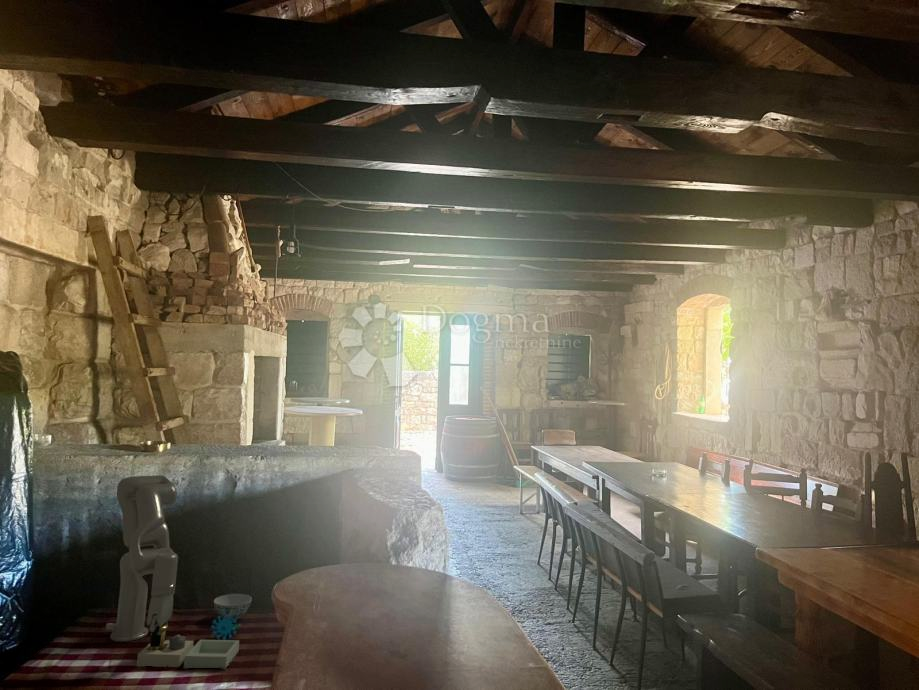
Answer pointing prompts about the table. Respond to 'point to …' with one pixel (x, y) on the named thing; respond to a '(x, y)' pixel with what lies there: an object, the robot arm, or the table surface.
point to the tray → (211, 654)
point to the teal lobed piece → (225, 627)
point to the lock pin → (163, 631)
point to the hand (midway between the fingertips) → (158, 643)
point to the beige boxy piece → (166, 653)
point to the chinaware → (232, 605)
